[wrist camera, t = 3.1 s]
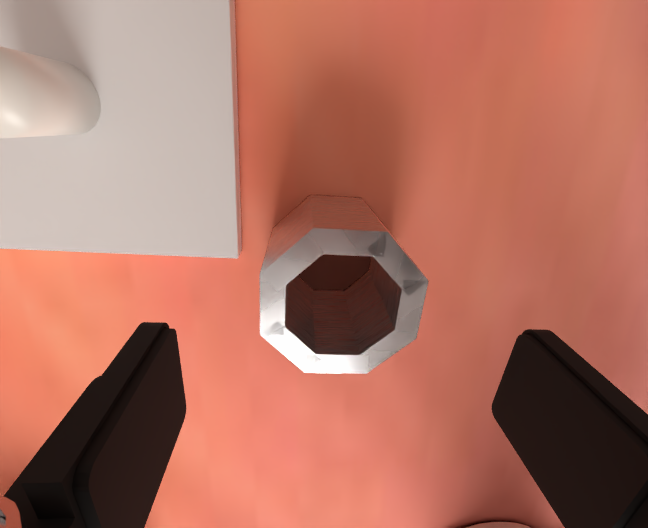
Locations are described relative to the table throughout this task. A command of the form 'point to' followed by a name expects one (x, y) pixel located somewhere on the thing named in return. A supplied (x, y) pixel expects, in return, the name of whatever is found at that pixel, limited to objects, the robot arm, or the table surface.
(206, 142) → the flange plate
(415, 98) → the table surface
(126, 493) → the robot arm
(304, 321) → the collar
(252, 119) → the table surface
